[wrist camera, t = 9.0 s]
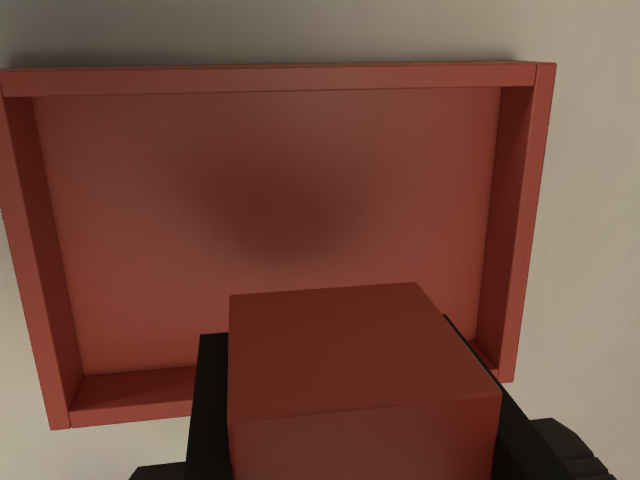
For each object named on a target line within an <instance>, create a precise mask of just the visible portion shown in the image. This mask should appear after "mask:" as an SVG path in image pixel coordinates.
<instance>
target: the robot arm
mask: <svg viewBox="0 0 640 480" xmlns="http://www.w3.org/2000/svg"><path fill="white" fill-rule="evenodd" d="M442 315H443V316H444V318H445V319H446V320H447V321H448V323H449V324H450V325H451V327H452V328H453V329H454V330H455V332H456V333H457V334H458V335H459V337H460V338H461V339H462V341H463V342H464V343H465V344H466V346H467V347H468V348H469V350H470V351H471V352H472V353H473V355H474V356H475V357H476V359H477V360H478V361H479V362H480V364H481V365H482V366H483V368H484V369H485V370H486V371H487V373H488V374H489V375H490V376H491V378H492V379H493V380H494V382H495V383H496V384H497V385H498V387H499V388H500V389H501V391H502V401H501V409H500V416H499V424H498V432H497V438H496V446H495V454H494V462H493V470H492V477H491V480H617V479H616V478H615V477H614V476H613V475H612V474H609V473H608V469H607V468H606V467H605V466H604V465H603V464H602V462H601V461H600V460H599V459H598V458H597V457H594V455H593V452H592V451H591V450H590V449H589V448H588V447H587V445H586V444H585V443H584V442H583V441H582V440H581V439H580V437H579V436H578V435H577V434H576V433H574V432H573V431H571V430H570V429H568V428H567V427H565V426H564V425H562V424H561V423H559V422H558V421H556V420H555V419H553V418H544V419H536V420H529V419H528V418H527V416H526V415H525V414H524V413H523V411H522V410H521V409H520V408H519V406H518V405H517V404H516V403H515V401H514V400H513V399H512V397H511V396H510V395H509V394H508V392H507V391H506V390H505V389H504V387H503V386H502V385H501V384H500V382H499V381H498V380H497V378H496V377H495V376H494V375H493V373H492V372H491V371H490V370H489V368H488V367H487V366H486V365H485V363H484V362H483V361H482V359H481V358H480V357H479V356H478V354H477V353H476V352H475V351H474V349H473V348H472V347H471V346H470V344H469V343H468V342H467V340H466V339H465V338H464V337H463V335H462V334H461V333H460V332H459V330H458V329H457V328H456V327H455V325H454V324H453V323H452V321H451V320H450V319H449V318H448V316H447V315H446V314H442ZM228 341H229V332H222V333H210V334H200V339H199V348H198V357H197V366H196V375H195V383H194V392H193V401H192V410H191V419H190V428H189V437H188V446H187V455H186V461H185V462H176V463H168V464H159V465H150V466H142V467H137V469H136V470H135V472H134V473H133V474H132V476H131V477H130V478H129V480H233V470H232V465H231V463H230V452H229V439H228V427H227V396H228Z"/></svg>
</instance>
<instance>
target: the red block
mask: <svg viewBox="0 0 640 480" xmlns="http://www.w3.org/2000/svg"><path fill="white" fill-rule="evenodd" d="M501 401H502V391H501V389H500V388H499V387H498V385H497V384H496V383H495V382H494V380H493V379H492V378H491V376H490V375H489V374H488V373H487V371H486V370H485V369H484V368H483V366H482V365H481V364H480V362H479V361H478V360H477V359H476V357H475V356H474V355H473V353H472V352H471V351H470V350H469V348H468V347H467V346H466V344H465V343H464V342H463V341H462V339H461V338H460V337H459V335H458V334H457V333H456V332H455V330H454V329H453V328H452V327H451V325H450V324H449V323H448V321H447V320H446V319H445V318H444V316H443V315H442V314H441V312H440V311H439V310H438V309H437V307H436V306H435V305H434V303H433V302H432V301H431V300H430V298H429V297H428V296H427V294H426V293H425V292H424V291H423V289H422V288H421V287H420V286H419V284H418V283H417V282H405V283H391V284H377V285H363V286H348V287H334V288H320V289H306V290H292V291H278V292H264V293H250V294H236V295H231V296H230V298H229V341H228V396H227V427H228V439H229V452H230V463H231V465H232V470H233V480H491V477H492V470H493V462H494V454H495V446H496V438H497V432H498V424H499V416H500V409H501Z"/></svg>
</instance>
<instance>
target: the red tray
mask: <svg viewBox="0 0 640 480" xmlns="http://www.w3.org/2000/svg"><path fill="white" fill-rule="evenodd" d="M556 67H557V64H556V63H551V62H533V61H516V60H509V61H438V62H367V63H296V64H225V65H154V66H84V67H13V68H0V207H1V211H2V216H3V220H4V225H5V229H6V234H7V238H8V243H9V247H10V252H11V256H12V261H13V265H14V270H15V274H16V278H17V283H18V287H19V292H20V296H21V301H22V305H23V310H24V314H25V319H26V323H27V328H28V332H29V337H30V341H31V345H32V350H33V354H34V359H35V363H36V368H37V372H38V377H39V381H40V386H41V390H42V395H43V399H44V404H45V408H46V413H47V417H48V421H49V426H50V430H60V429H70V428H71V427H72V428H79V427H89V426H98V425H108V424H117V423H127V422H137V421H146V420H156V419H165V418H175V417H185V416H191V410H192V401H193V392H194V383H195V375H196V366H197V357H198V348H199V339H200V334H210V333H222V332H229V298H230V296H231V295H236V294H250V293H264V292H278V291H292V290H306V289H320V288H334V287H348V286H363V285H377V284H391V283H405V282H417V283H418V284H419V286H420V287H421V288H422V289H423V291H424V292H425V293H426V294H427V296H428V297H429V298H430V300H431V301H432V302H433V303H434V305H435V306H436V307H437V309H438V310H439V311H440V312H441V314H446V315H447V316H448V318H449V319H450V320H451V321H452V323H453V324H454V325H455V327H456V328H457V329H458V330H459V332H460V333H461V334H462V335H463V337H464V338H465V339H466V340H467V342H468V343H469V344H470V346H471V347H472V348H473V349H474V351H475V352H476V353H477V354H478V356H479V357H480V358H481V359H482V361H483V362H484V363H485V365H486V366H487V367H488V368H489V370H490V371H491V372H492V373H493V375H494V376H495V377H496V378H497V380H498V381H499V382H500V383H509V382H513V380H514V372H515V365H516V358H517V351H518V343H519V336H520V329H521V322H522V314H523V307H524V300H525V293H526V285H527V278H528V271H529V263H530V256H531V249H532V242H533V234H534V227H535V220H536V213H537V205H538V198H539V191H540V184H541V176H542V169H543V162H544V155H545V147H546V140H547V133H548V125H549V118H550V111H551V104H552V96H553V89H554V82H555V75H556Z"/></svg>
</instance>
